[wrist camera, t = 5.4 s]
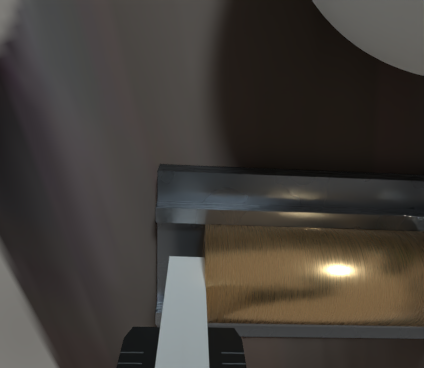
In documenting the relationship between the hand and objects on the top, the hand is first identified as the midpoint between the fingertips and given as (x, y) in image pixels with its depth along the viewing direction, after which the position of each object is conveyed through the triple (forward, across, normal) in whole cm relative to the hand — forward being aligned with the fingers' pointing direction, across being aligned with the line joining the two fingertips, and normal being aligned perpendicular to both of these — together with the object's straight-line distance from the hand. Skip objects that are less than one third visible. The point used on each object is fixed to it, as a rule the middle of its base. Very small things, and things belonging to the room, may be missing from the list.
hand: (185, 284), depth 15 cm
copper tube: (+2, +7, 0) cm, 7 cm away
